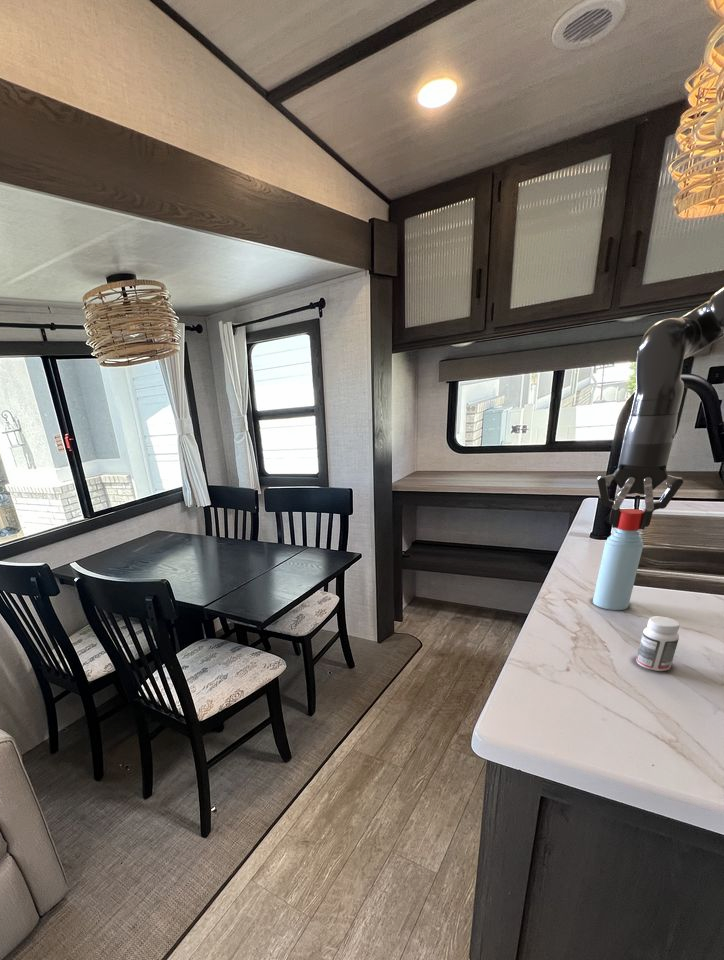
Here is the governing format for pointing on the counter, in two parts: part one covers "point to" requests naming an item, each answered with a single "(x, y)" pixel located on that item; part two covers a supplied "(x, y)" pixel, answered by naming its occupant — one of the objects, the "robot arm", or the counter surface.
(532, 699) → the counter surface
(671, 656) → the pill bottle
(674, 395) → the robot arm
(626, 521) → the cap
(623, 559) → the water bottle
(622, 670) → the counter surface
